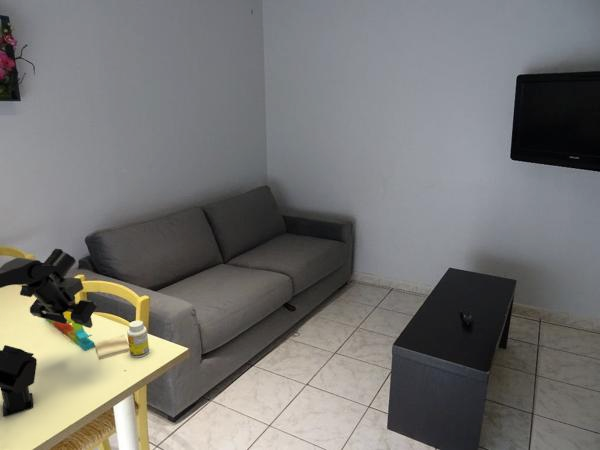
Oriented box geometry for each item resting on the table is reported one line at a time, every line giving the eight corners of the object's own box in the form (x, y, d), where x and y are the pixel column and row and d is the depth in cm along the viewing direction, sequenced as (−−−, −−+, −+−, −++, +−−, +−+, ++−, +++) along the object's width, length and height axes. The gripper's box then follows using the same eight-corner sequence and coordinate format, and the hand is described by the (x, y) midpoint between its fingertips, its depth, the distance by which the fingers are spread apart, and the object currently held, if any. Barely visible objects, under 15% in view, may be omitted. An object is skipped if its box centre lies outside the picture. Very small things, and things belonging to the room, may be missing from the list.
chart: (95, 347, 141) (89, 303, 137) (85, 351, 139) (78, 307, 134) (55, 316, 160) (48, 278, 156) (45, 320, 158) (38, 281, 153)
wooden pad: (130, 350, 139) (130, 347, 138) (99, 359, 134) (99, 356, 134) (124, 337, 146) (124, 334, 146) (94, 345, 141) (94, 342, 141)
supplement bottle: (130, 349, 139) (126, 320, 136) (149, 346, 141) (145, 317, 138) (129, 359, 134) (125, 329, 131) (149, 356, 136) (145, 326, 133)
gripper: (93, 272, 122) (119, 305, 133) (40, 266, 128) (69, 298, 139) (69, 306, 115) (98, 338, 126) (13, 298, 120) (46, 329, 131)
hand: (78, 324), depth 130 cm, fingers open, 9 cm apart
